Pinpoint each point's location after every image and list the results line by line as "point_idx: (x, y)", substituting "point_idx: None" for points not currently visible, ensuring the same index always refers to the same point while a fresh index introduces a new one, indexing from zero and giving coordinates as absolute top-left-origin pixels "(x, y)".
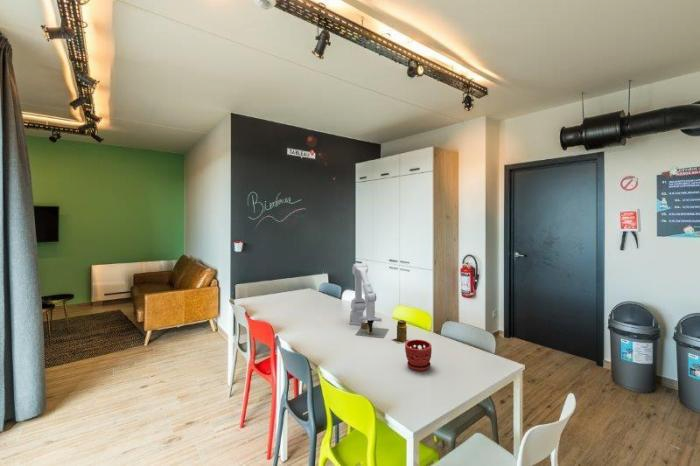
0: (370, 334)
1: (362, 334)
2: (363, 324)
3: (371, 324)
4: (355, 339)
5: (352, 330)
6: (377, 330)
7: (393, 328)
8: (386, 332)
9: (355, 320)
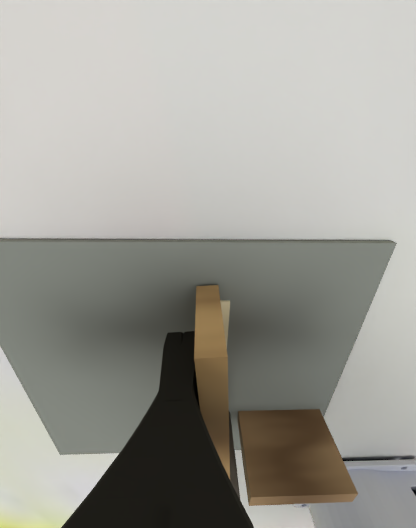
0: (181, 303)
1: (288, 277)
2: (312, 467)
3: (111, 489)
4: (405, 23)
5: (408, 361)
6: (144, 411)
7: (39, 468)
8: (31, 393)
9: (392, 509)
